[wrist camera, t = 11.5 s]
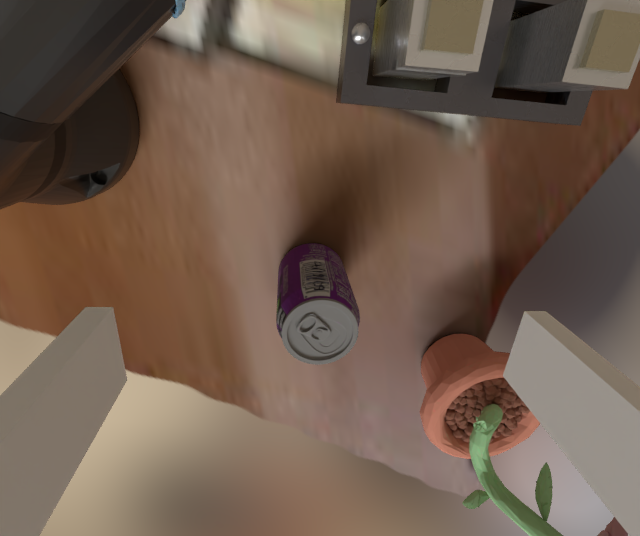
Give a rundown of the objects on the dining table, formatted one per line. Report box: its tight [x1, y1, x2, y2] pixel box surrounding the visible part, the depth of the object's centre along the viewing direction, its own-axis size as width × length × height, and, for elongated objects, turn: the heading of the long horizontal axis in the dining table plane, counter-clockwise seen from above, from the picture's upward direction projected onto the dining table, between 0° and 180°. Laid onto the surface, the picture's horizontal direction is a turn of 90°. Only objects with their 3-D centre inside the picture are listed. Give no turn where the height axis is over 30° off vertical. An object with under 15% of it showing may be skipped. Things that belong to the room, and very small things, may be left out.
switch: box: [336, 0, 640, 125], centre depth 28 cm, size 22×10×11 cm, turn 85°
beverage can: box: [276, 243, 360, 364], centre depth 35 cm, size 7×7×12 cm
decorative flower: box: [420, 334, 628, 536], centre depth 34 cm, size 15×14×30 cm
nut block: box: [372, 0, 494, 80], centre depth 27 cm, size 5×5×11 cm
